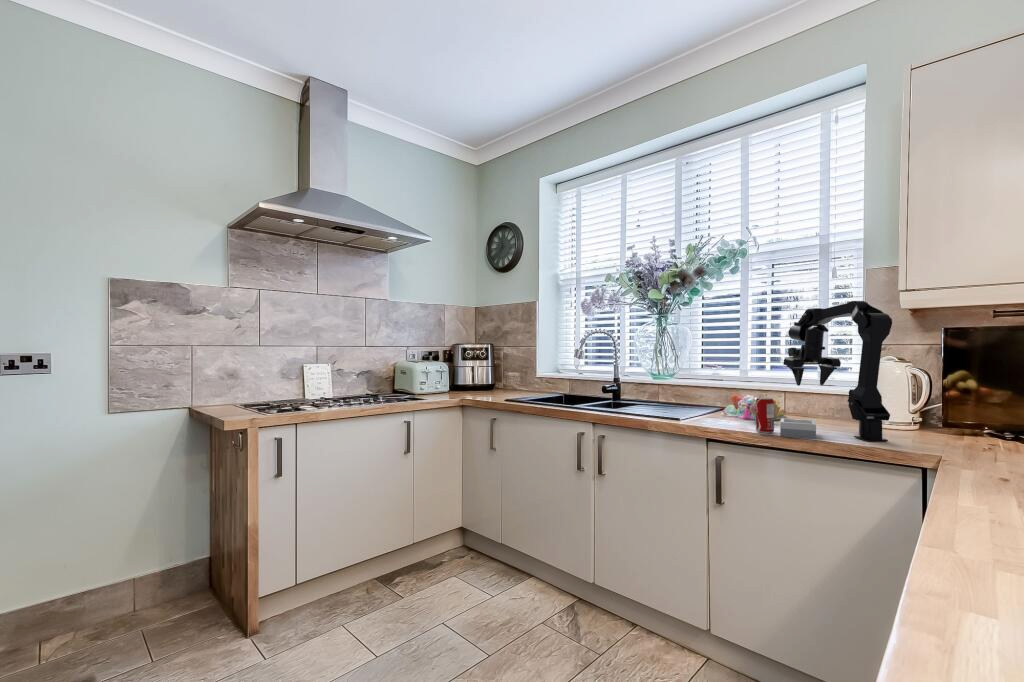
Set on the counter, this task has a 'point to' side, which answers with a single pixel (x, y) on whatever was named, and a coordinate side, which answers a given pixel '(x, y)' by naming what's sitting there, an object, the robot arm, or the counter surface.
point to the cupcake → (753, 409)
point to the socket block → (798, 428)
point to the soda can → (764, 414)
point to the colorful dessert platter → (748, 408)
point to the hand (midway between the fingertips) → (809, 385)
